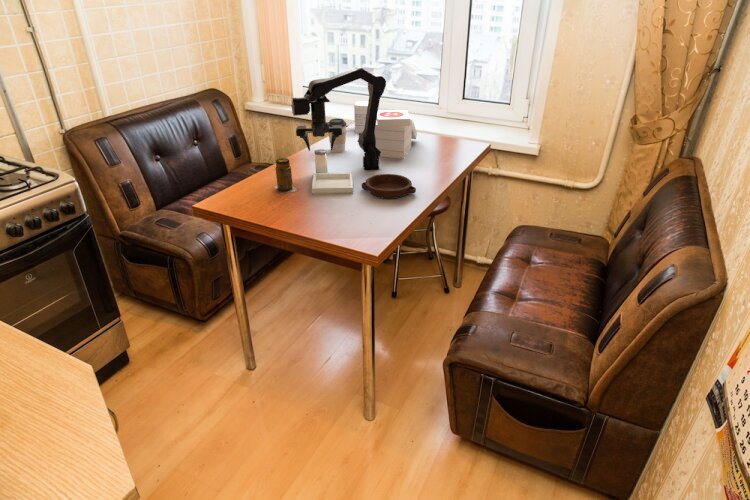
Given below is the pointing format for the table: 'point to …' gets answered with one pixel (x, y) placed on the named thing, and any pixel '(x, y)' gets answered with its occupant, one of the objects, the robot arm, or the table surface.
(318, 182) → the tray
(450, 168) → the table surface
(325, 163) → the jar
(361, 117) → the supplement box
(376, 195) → the dish
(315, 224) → the table surface
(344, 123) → the coffee cup
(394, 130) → the pizza boxes
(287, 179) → the condiment
